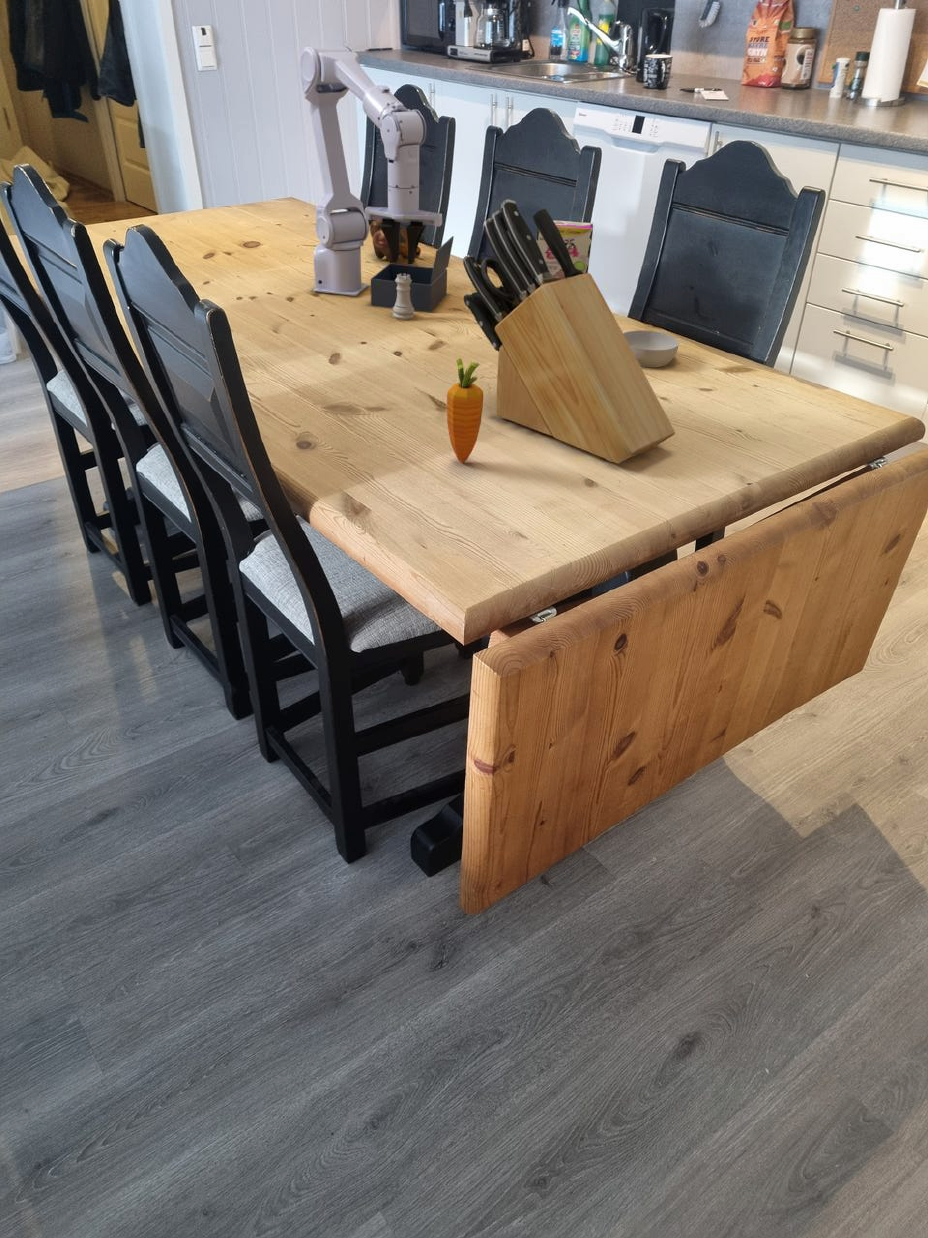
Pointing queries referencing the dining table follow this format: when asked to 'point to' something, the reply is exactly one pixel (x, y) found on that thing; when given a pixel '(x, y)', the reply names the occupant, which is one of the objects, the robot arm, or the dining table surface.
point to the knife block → (560, 345)
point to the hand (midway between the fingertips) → (403, 262)
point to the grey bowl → (652, 347)
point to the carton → (421, 292)
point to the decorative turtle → (382, 245)
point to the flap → (442, 258)
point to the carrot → (464, 412)
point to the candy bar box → (569, 246)
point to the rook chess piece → (403, 299)
